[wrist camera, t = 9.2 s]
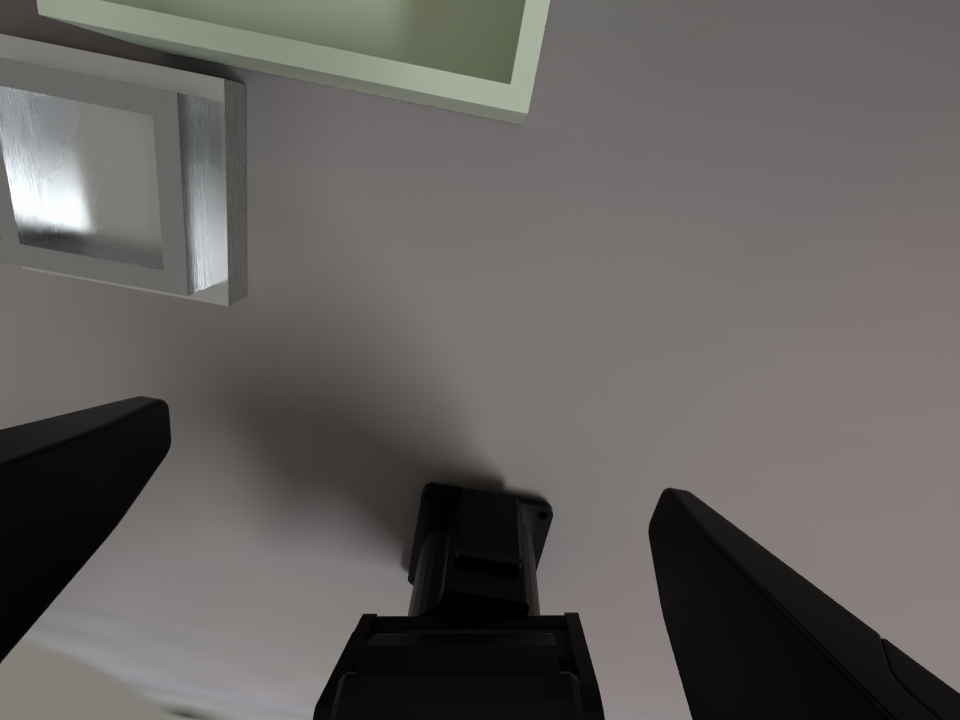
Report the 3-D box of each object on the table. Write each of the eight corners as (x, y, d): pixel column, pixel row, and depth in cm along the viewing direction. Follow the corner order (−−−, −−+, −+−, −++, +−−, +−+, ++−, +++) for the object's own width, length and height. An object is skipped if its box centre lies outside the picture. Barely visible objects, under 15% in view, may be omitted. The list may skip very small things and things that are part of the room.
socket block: (246, 296, 21) (207, 318, 18) (54, 261, 20) (-16, 277, 18) (245, 84, 18) (198, 71, 15) (19, 39, 17) (-72, 17, 15)
